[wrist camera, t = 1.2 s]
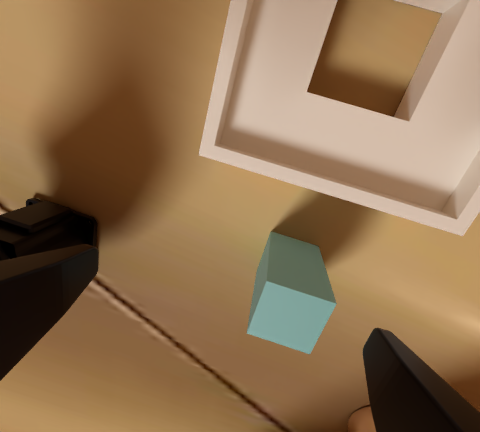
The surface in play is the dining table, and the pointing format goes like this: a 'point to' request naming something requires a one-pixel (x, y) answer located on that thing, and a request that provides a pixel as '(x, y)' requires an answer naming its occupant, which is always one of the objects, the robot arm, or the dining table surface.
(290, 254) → the tall teal block
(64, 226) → the robot arm
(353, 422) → the beer glass
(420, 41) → the dining table surface
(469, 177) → the box
